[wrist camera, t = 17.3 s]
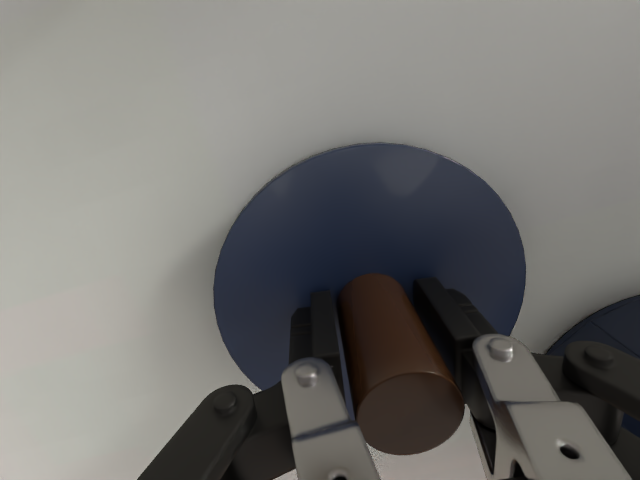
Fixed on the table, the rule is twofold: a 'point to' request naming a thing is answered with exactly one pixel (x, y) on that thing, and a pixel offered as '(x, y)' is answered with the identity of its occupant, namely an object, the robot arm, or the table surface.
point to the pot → (610, 337)
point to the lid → (370, 278)
